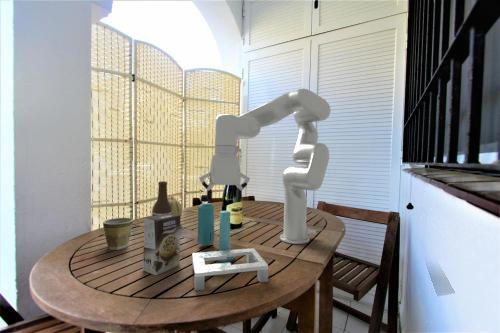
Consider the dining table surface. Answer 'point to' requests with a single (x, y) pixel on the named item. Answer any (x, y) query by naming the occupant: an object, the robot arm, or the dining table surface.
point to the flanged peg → (224, 234)
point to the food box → (161, 243)
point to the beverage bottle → (205, 222)
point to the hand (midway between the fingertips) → (224, 201)
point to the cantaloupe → (173, 206)
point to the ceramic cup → (117, 232)
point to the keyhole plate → (227, 265)
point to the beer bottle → (162, 201)
